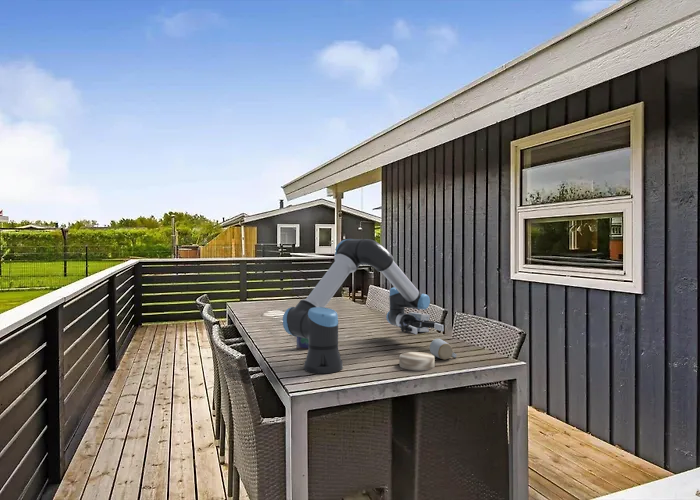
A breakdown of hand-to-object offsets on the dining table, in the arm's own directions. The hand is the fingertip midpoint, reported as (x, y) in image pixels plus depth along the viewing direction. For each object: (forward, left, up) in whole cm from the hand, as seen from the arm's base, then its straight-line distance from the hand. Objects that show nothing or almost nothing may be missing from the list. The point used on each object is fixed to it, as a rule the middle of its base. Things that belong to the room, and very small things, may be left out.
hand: (429, 329), depth 210 cm
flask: (-32, +47, -10) cm, 58 cm away
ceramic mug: (-4, -9, -10) cm, 15 cm away
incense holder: (+35, +30, -10) cm, 48 cm away
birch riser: (-22, -8, -10) cm, 25 cm away
